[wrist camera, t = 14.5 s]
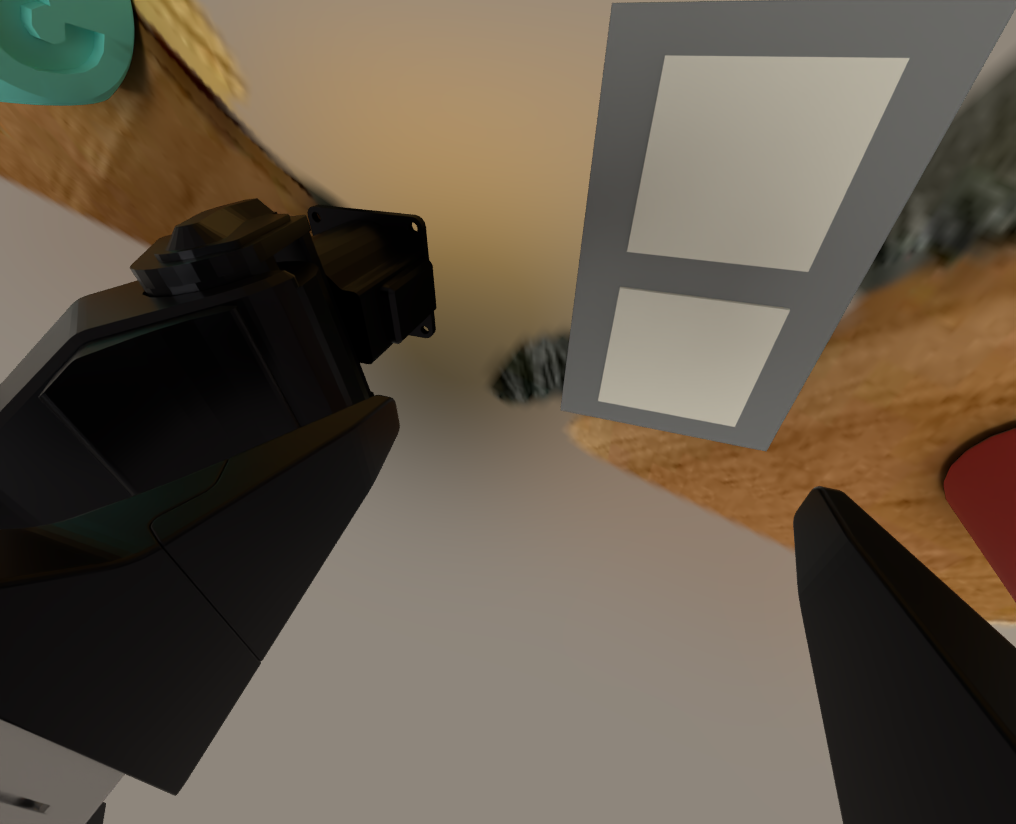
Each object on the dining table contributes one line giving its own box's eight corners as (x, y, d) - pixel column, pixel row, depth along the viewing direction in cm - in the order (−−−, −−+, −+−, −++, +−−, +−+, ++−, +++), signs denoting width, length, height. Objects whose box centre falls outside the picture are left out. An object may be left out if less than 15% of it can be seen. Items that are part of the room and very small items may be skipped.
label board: (562, 404, 25) (559, 412, 24) (613, 5, 14) (611, 1, 13) (764, 443, 22) (766, 453, 22) (1008, -1, 12) (1027, -5, 11)
